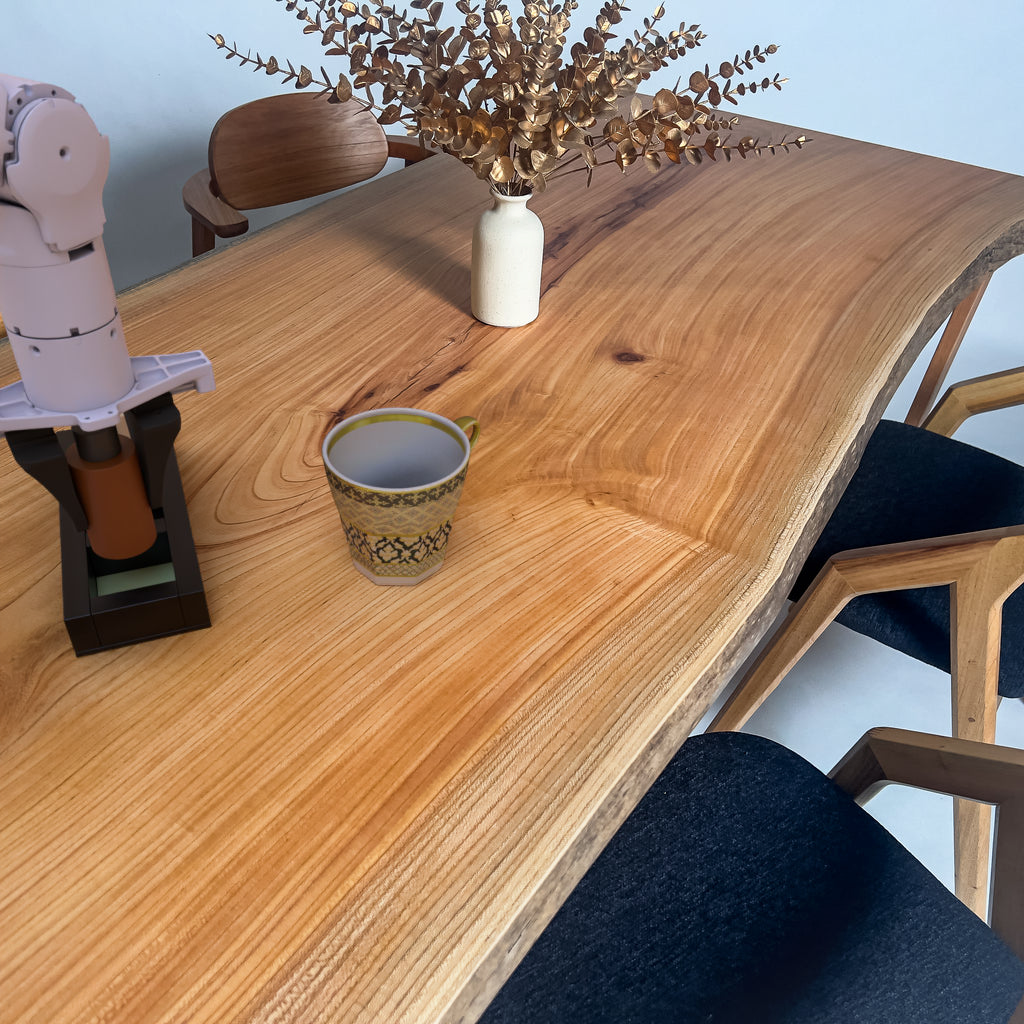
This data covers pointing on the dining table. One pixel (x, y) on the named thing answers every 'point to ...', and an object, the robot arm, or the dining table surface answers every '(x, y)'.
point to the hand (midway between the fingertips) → (116, 511)
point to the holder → (133, 579)
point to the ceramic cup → (398, 488)
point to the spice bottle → (111, 492)
